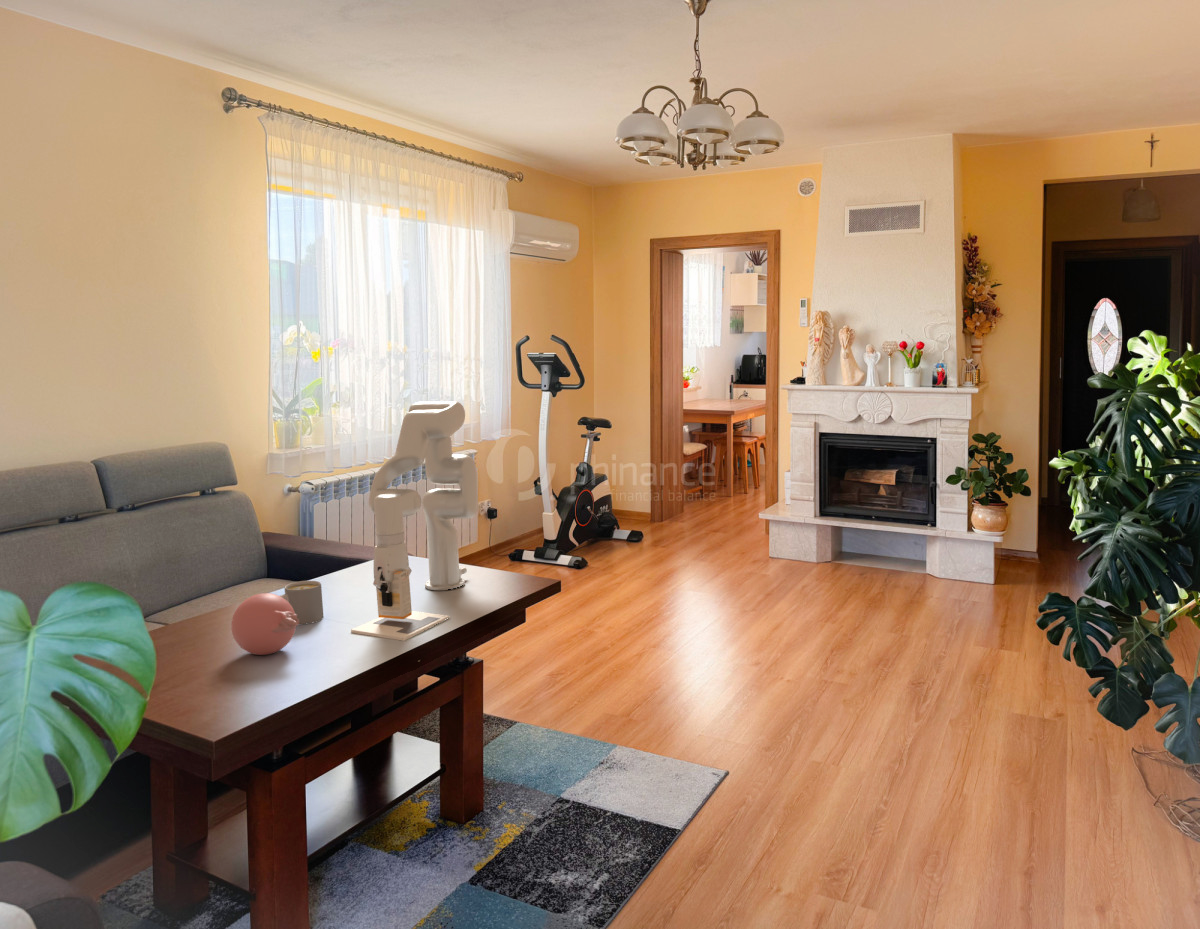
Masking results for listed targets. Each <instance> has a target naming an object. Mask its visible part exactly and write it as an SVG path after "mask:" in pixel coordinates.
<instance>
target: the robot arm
mask: <svg viewBox="0 0 1200 929" xmlns="http://www.w3.org/2000/svg"><path fill="white" fill-rule="evenodd" d="M465 420H466V410H465V408H464V406H463V404H462V403H461V402H459V401H453V400H452V401H451V400H449V401H448V400H447V401H418V402H415V403H412V404H411V405H410V406H409V409H408V412H407V413H406V414H405V415H404V416H403V419H402V424H401V426H400V432H399V435H398V436H399V437H398V440H397V444H396V448H395V449H396V450H395V453H394V455H393V456H392V457H391V458H389V459H388V460H387V461H386V462H385V463H384V464H383V465H382V466H381V467H380V468H379V469H378V471H377V472H376V473H375V475H374V478H373V480H372V484H371V487H370V492H369V497H368V506H369V510H370V511H371V513H372V514H374V522H375V523H374V524H375V535H376V536H375V539H376V540H375V541H376V545H375V546H374V551H373V583H372V584H373V586H375V587H377V588H378V589H379V591H380V592H381V595H382V605H383V606H388V607H391V606H392V605H393V603H392V592H390V588H391V582H392V581H393V580H394V574H395V573H396V572H399V571H401V570H404V569H407V570H409V576H410V575H411V573H412V568H411V567H410V562H409V554H408V548H407V543H406V541H405V529H404V528H405V524H404V517H410V516H413V515H415V514H417V513H418V512H419V510H420V509H421V506H422V510H423V513H424V519H425V525H426V538H427V555H428V574H429V575H428V576H429V579H428V580H427V581H426V582H424V583H425V584H424V586H425V588H426V589H428V590H431V591H449V590H448V589H451V590H454V589H453V588H456V589H458V588H457V587H459V588H461V587H460V586H462V585H463V584H464V583H465V579H464V578H461V577H462V575H463V574H466V573H467V568H466V567H462V568H460V561H459V560H460V559H459V558H460V557H459V543H458V542H459V541H458V529H457V527H456V526H455V524H454V522H453V521H452V520H451V519H454V520H455V519H458V520H459V519H461V520H463V519H464V520H465V519H472V518H474V517H475V516H476V515H477V513H478V508H479V495H478V493H479V492H478V474H477V473H478V472H477V464H476V462H475V459H474V458H473V457H472V456H470V455H468V454H454V452H453V450H452V449H453V448H452V446H453V445H452V437H451V436H452V435H454V434H456V432H458V431H459V430H460V429H462V427H463V425H464V422H465ZM424 463H425V475H426V479H427V481H428V482H429V483H430V484H433V485H446V486H447V485H448V486H449V485H452V486H453V485H455V486H456V485H457V486H459V487H460V488H434V489H433V488H432V489H430V490H428V491H426V492H425V493H424V494H423V496H422V497H421V495H420V494H419V492H418V491H416V490H414V489H409V488H408V489H407V488H388V486H389V485H390V484H391V483H392V481H394V480H395V479H397V477H399V476H401V475H403V474H405V473H408V472H410V471H412V470H414V469H416V468H419V467H421V466H422V465H423V464H424ZM384 579H385V581H384ZM385 583H387V586H385ZM465 584H466V583H465ZM465 584H464V585H465ZM464 585H463V586H464ZM463 586H462V587H463Z"/></svg>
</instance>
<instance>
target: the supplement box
mask: <svg viewBox="0 0 1200 929" xmlns="http://www.w3.org/2000/svg"><path fill="white" fill-rule="evenodd" d="M384 581H385V579H384ZM385 586H387V583H385ZM375 587H376V586H375ZM375 589H376V601H377V602H376V603H377V613H378V614H377V615H378V618H379V617H380V618H394V619H405V618H407V617H408V616H410V615H412V611H413V610H412V598H411V584H410V575H409V570H407V569H404V570H401V571H399V572H396V573H395V574H394V580H393V581H392V582H391V588H390V592H392V603H393V605H392V606H391V607H388V606H383V605H382V595H381V592H380V591H379V589H378V588H377V587H376V588H375Z"/></svg>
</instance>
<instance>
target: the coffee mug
mask: <svg viewBox="0 0 1200 929" xmlns="http://www.w3.org/2000/svg"><path fill="white" fill-rule="evenodd" d="M279 596H280V597H282V598H284V599H285V600H287V601H288V602H289V603H290V605H291V606H292V608H293V609H294V612H295V614H296V615H297V619H299V624H302V625H307V624H306V623H310V624H313V623H312V622H314V623H316V621H317V622H319V620H320V621H321V619H322V618H323V619H324V605H323V589H322V582H320V581H317V580H301V581H295V582H291V583H288V584H286V585H285V586H284V594H281V595H279ZM323 619H322V620H323Z"/></svg>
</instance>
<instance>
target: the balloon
mask: <svg viewBox="0 0 1200 929" xmlns="http://www.w3.org/2000/svg"><path fill="white" fill-rule="evenodd" d="M298 624H299V619H297V615H296V614H295V612H294V609H293V608H292V606H291V605H290V603H289V602H288V601H287V600H285V599H284V598H282V597H280V595H278V594H275V593H270V592H269V593H267V592H266V593H263V592H262V593H257V594H254V595H251V596H250V597H248V598H246V599H244V600H243V601H241V603H240V604H239V605H238V606H237V607H236V610H235V611H234V612H233V615H232V619H231V624H230V625H231V634H232V636H233V639H234V641H235V642H236V644H238V646H239V647H240V648H241V649H242V650H244V651H245V652H247V653H251V654H253V655H258V656H259V655H260V656H265V655H270V654H271V655H272V654H275V653H277V652H278V651H281V650H282V649H283V648H285V647H286V646H287V645H288V644H289V643H290V642H291V640H292V639H293V637H294V634H295V632H296V629H297V626H298Z"/></svg>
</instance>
